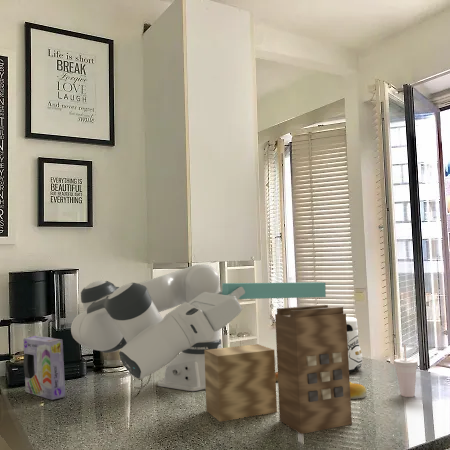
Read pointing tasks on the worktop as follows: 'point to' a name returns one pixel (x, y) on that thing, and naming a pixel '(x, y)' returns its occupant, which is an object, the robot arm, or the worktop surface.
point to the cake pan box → (44, 367)
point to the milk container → (353, 344)
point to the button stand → (313, 368)
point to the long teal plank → (277, 290)
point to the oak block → (240, 382)
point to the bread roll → (357, 391)
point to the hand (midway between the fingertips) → (238, 288)
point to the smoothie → (406, 375)
